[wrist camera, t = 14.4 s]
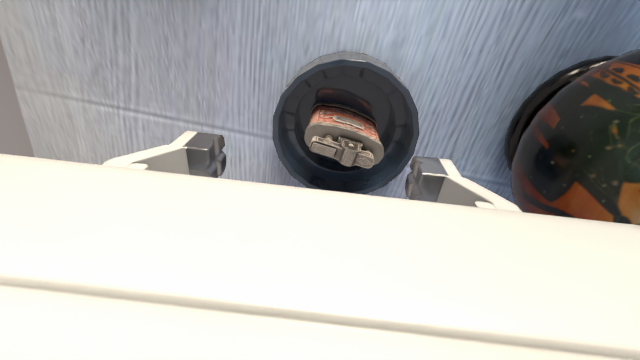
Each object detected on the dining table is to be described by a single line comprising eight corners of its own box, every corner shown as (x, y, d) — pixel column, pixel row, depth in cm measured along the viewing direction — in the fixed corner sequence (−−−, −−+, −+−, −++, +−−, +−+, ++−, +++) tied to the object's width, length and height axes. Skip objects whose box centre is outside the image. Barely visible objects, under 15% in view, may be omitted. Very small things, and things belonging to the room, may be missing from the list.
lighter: (381, 116, 36) (393, 154, 27) (370, 142, 37) (379, 184, 29) (315, 95, 35) (307, 127, 26) (307, 122, 37) (297, 160, 28)
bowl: (423, 59, 33) (437, 69, 28) (392, 179, 41) (399, 203, 36) (283, 43, 33) (274, 50, 28) (279, 166, 41) (271, 188, 36)
